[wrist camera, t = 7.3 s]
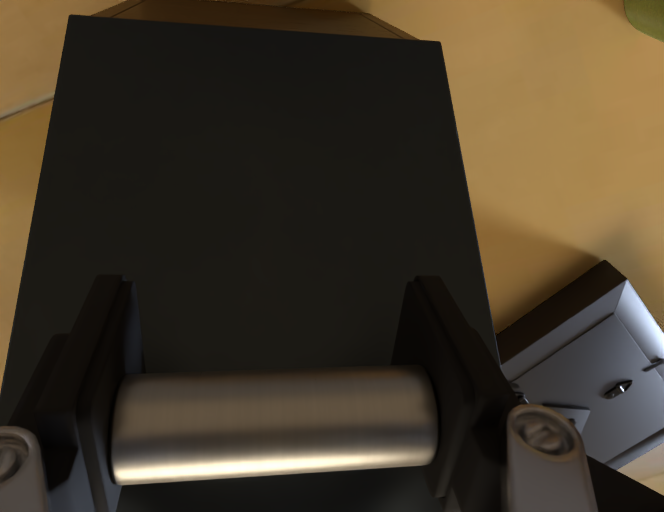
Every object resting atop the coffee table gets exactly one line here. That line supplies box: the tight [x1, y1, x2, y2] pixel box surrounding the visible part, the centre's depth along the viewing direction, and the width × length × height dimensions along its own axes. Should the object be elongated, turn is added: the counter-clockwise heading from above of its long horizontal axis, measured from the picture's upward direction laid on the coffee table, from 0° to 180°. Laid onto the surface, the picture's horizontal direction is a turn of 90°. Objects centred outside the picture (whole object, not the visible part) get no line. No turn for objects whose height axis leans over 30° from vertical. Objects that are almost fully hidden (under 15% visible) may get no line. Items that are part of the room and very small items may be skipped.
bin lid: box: [0, 15, 502, 512], centre depth 14 cm, size 16×14×5 cm
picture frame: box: [495, 260, 664, 470], centre depth 51 cm, size 23×4×28 cm
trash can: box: [91, 0, 419, 40], centre depth 29 cm, size 16×14×13 cm
